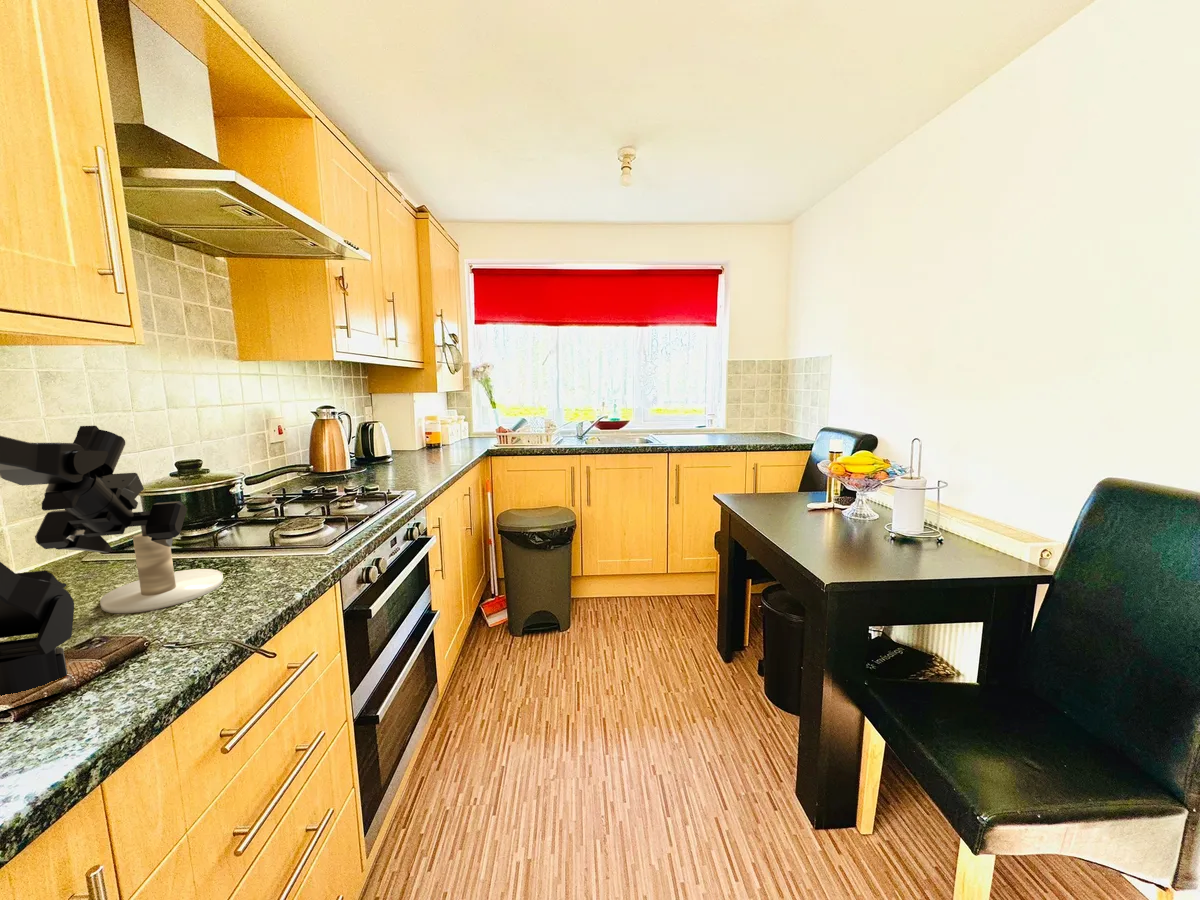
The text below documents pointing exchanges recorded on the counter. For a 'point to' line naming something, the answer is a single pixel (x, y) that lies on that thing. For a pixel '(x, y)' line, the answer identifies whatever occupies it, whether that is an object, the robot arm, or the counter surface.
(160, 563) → the pepper mill
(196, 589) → the plate
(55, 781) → the counter surface
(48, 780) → the counter surface
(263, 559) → the counter surface
